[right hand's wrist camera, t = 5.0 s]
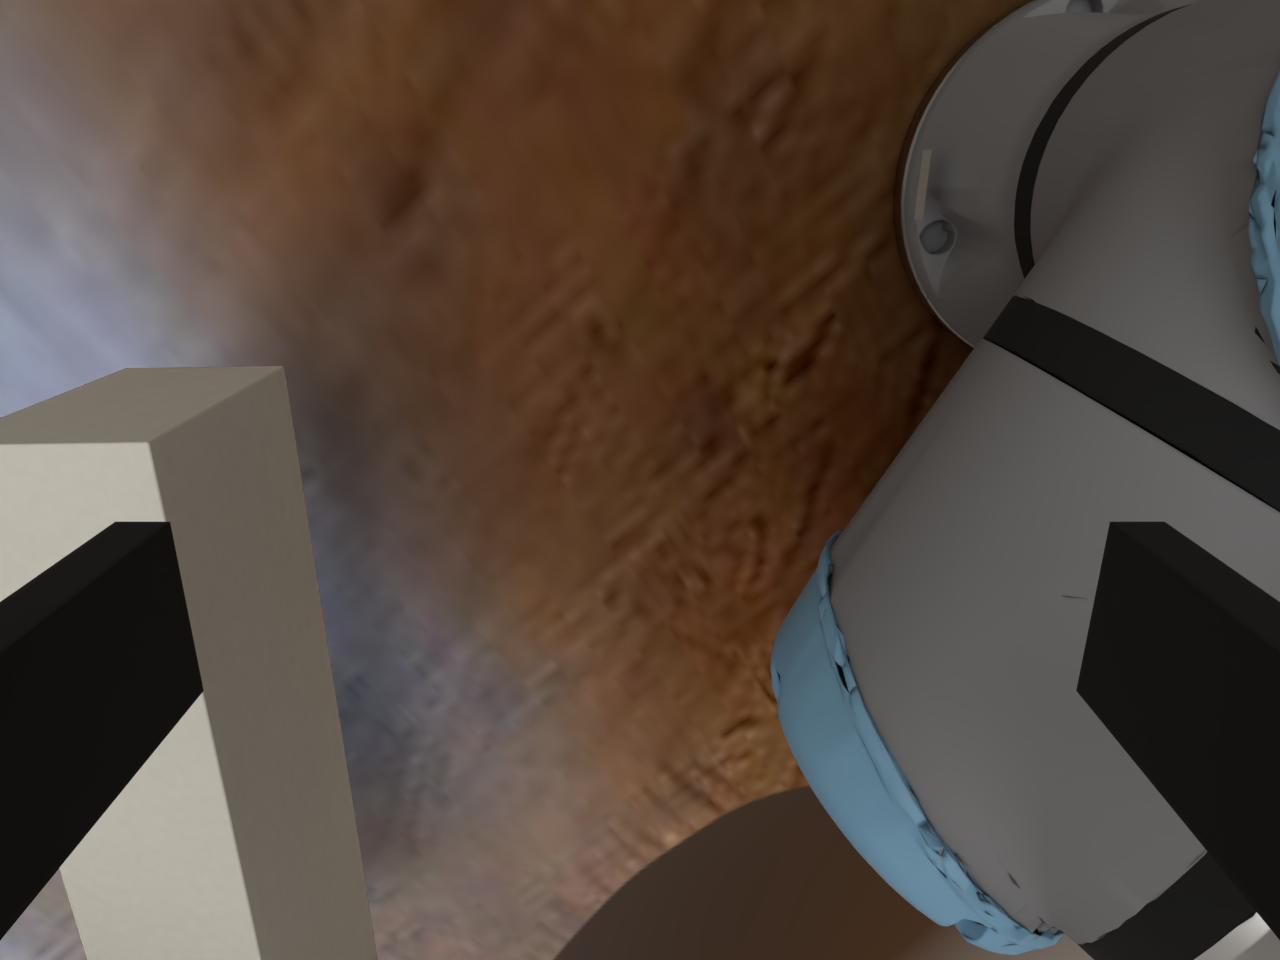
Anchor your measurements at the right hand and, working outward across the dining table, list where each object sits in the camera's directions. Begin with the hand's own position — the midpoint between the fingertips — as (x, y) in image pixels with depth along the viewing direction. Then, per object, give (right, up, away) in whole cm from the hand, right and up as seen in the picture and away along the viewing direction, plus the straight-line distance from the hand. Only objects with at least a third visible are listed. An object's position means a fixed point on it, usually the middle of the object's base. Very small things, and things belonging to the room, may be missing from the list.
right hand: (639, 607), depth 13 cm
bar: (-15, -9, +24) cm, 30 cm away
